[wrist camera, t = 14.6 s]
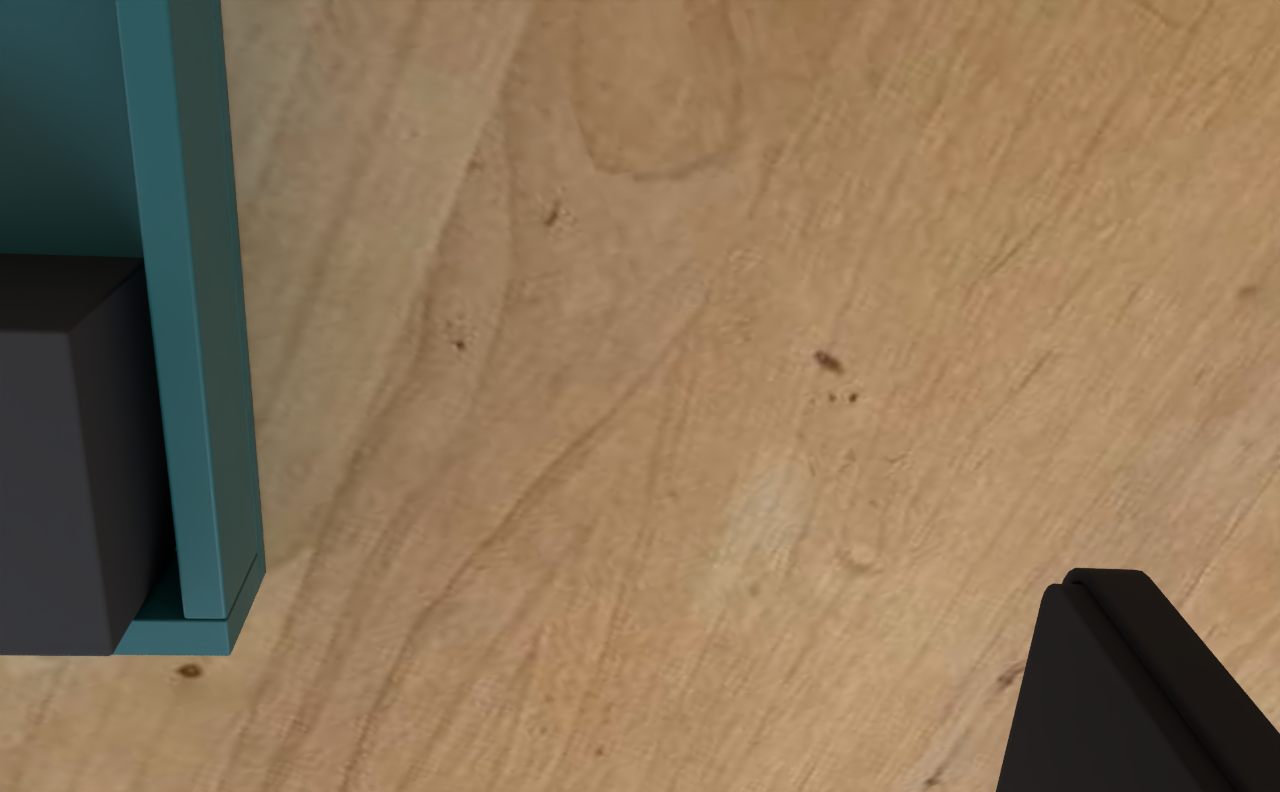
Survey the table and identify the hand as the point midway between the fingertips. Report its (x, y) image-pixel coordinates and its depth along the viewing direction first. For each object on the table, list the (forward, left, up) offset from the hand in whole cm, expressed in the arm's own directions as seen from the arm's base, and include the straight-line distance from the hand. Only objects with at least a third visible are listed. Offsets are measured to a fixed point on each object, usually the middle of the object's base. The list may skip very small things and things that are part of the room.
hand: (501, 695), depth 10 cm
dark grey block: (+3, -10, -13) cm, 17 cm away
